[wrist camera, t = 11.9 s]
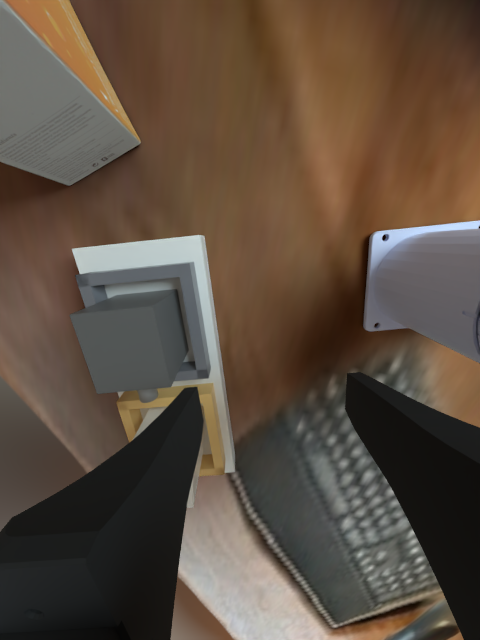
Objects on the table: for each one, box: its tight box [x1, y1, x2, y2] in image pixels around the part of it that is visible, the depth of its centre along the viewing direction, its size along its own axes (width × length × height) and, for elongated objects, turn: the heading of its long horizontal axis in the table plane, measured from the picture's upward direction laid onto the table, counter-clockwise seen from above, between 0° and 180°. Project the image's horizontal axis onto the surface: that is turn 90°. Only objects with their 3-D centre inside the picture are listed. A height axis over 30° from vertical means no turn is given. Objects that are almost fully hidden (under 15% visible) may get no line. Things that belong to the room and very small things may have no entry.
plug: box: [133, 406, 204, 508], centre depth 19 cm, size 4×7×5 cm
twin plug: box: [70, 289, 189, 403], centre depth 16 cm, size 4×7×5 cm
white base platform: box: [72, 235, 235, 476], centre depth 19 cm, size 9×22×4 cm, turn 6°
